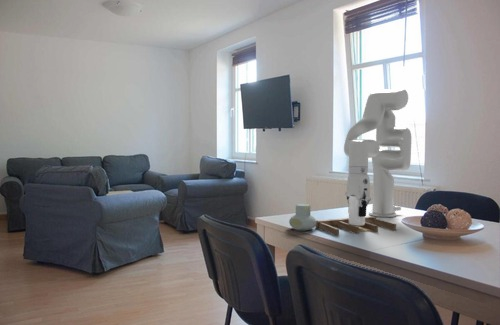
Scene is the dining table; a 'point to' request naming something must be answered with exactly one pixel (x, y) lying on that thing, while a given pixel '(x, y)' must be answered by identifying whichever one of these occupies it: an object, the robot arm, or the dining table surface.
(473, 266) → the dining table surface
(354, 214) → the can
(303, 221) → the air freshener
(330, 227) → the notch rack
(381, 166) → the robot arm
